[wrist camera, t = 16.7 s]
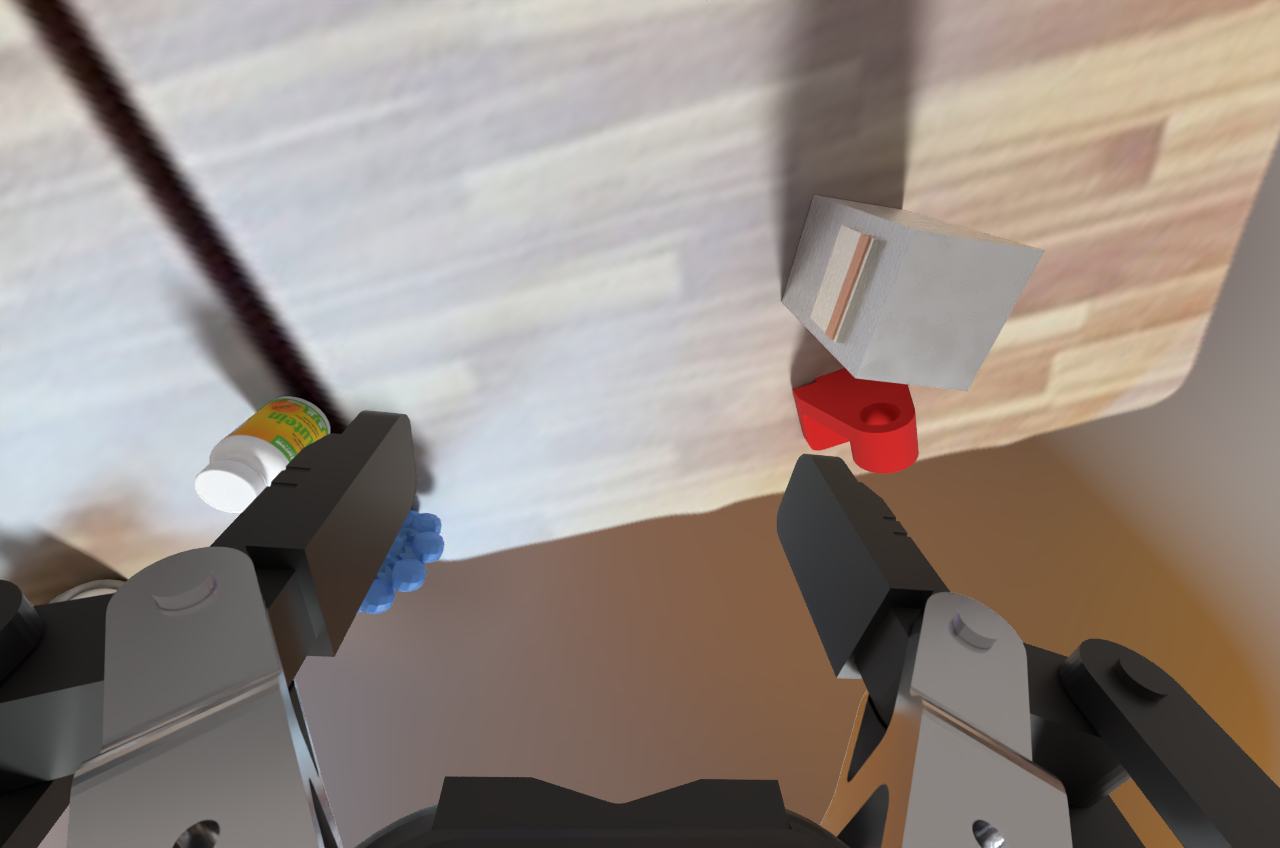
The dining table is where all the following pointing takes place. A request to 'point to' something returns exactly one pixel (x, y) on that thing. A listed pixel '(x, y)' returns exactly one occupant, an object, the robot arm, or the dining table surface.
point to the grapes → (405, 561)
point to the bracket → (860, 419)
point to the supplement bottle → (259, 452)
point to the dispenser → (904, 291)
